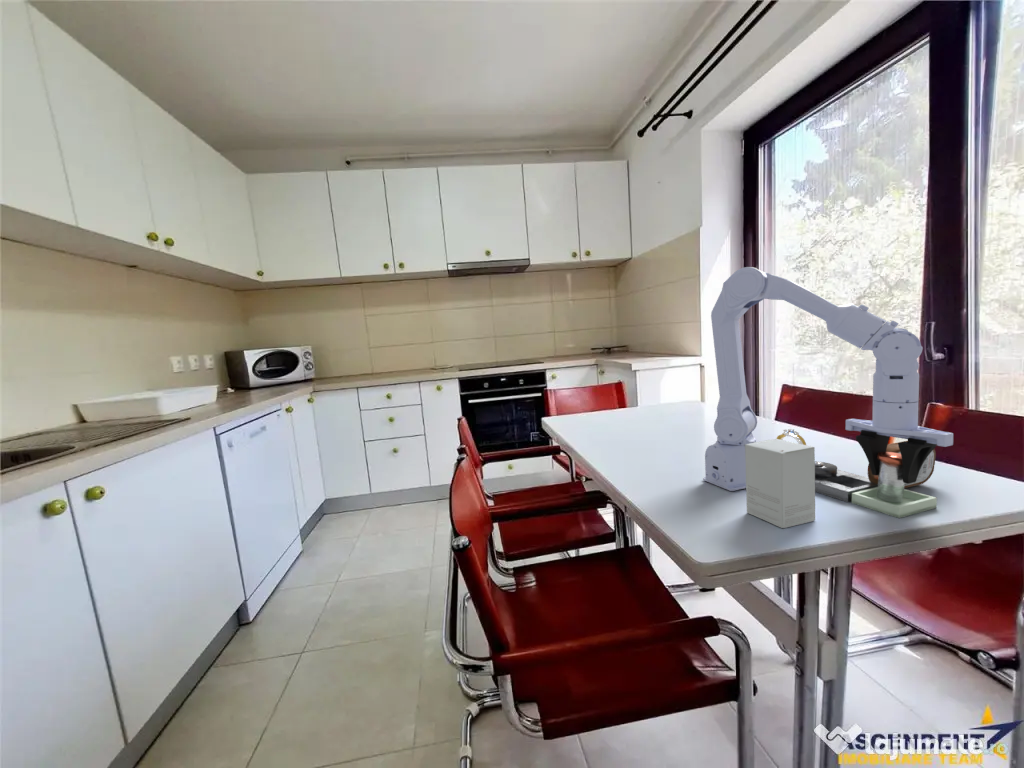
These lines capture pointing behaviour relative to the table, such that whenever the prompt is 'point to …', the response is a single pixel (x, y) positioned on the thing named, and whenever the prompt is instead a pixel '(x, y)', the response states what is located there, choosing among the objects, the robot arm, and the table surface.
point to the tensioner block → (839, 482)
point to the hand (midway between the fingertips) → (893, 478)
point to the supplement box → (780, 482)
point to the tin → (923, 473)
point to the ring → (792, 434)
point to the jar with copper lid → (890, 477)
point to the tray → (908, 506)
